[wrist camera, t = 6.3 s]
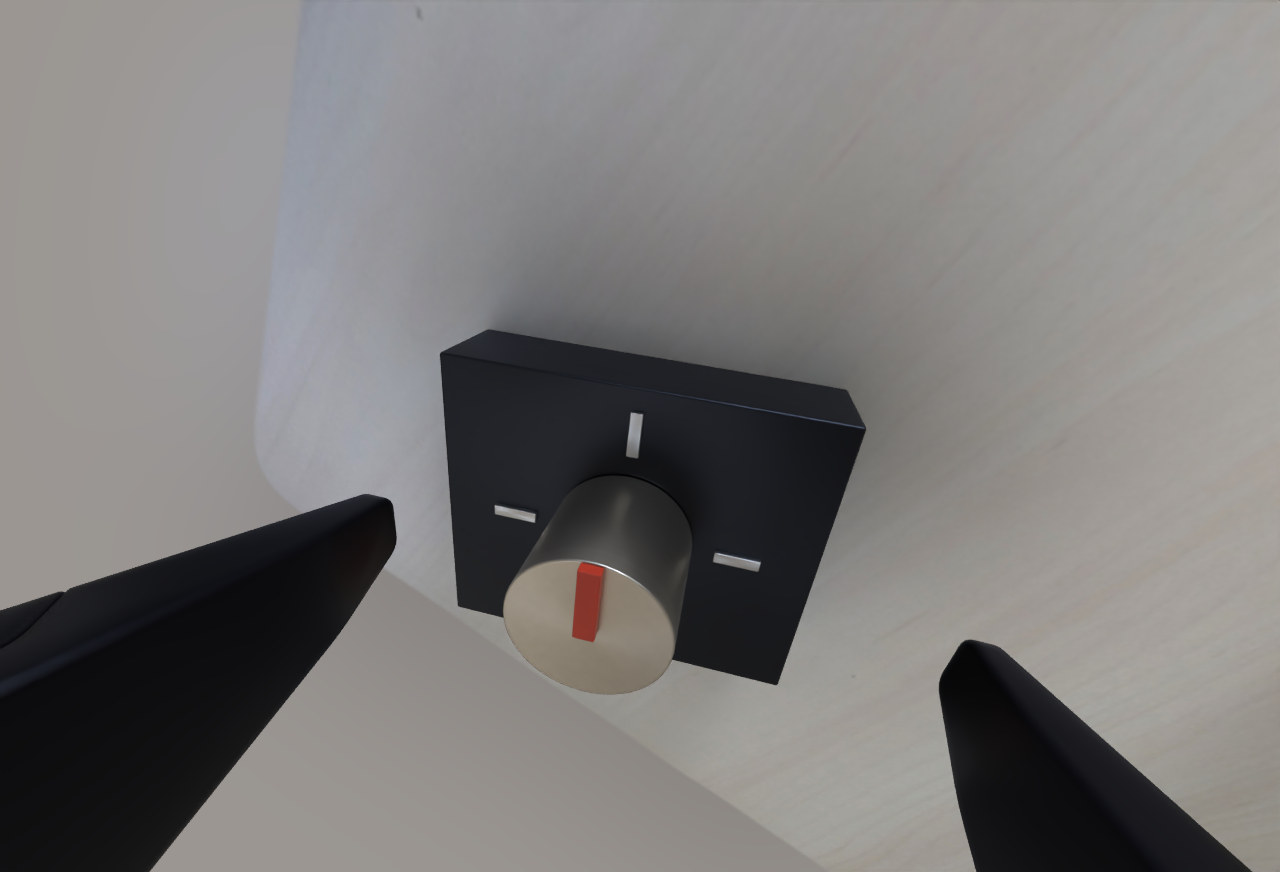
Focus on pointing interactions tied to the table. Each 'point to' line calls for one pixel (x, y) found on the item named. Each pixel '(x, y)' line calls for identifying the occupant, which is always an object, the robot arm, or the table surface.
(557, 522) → the knob
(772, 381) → the panel
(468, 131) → the table surface
